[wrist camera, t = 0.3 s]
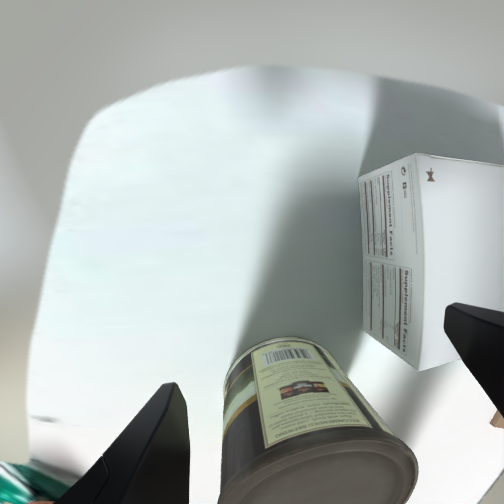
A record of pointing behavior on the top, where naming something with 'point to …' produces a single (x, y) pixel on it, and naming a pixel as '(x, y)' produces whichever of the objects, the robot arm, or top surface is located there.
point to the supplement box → (429, 250)
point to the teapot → (41, 502)
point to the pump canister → (497, 420)
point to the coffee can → (306, 433)
